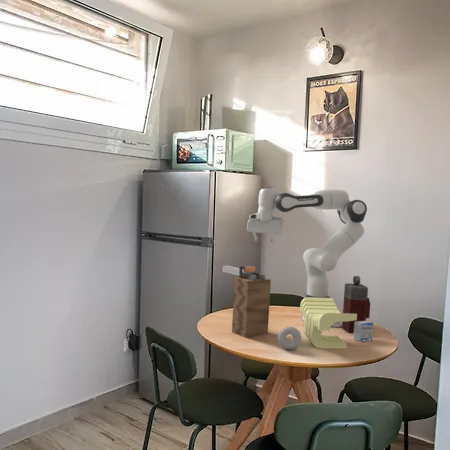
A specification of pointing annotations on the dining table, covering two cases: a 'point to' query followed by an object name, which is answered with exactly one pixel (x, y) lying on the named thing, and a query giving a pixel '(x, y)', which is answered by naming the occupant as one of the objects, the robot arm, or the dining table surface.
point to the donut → (292, 344)
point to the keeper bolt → (236, 270)
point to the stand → (251, 304)
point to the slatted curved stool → (323, 321)
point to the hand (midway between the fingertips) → (264, 241)
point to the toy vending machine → (355, 303)
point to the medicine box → (363, 330)
